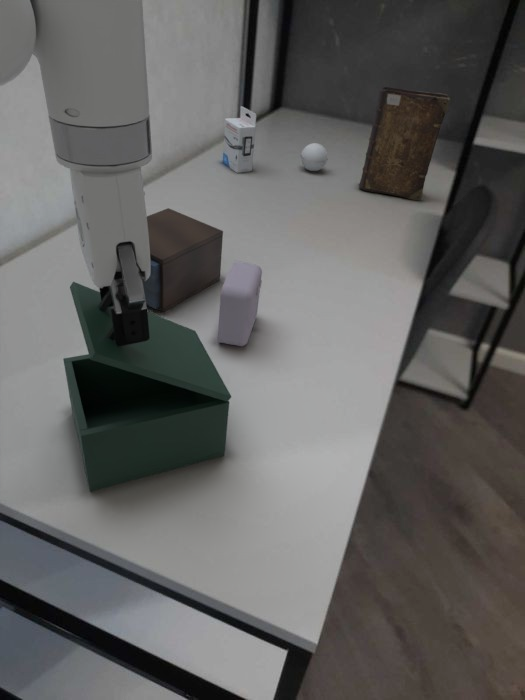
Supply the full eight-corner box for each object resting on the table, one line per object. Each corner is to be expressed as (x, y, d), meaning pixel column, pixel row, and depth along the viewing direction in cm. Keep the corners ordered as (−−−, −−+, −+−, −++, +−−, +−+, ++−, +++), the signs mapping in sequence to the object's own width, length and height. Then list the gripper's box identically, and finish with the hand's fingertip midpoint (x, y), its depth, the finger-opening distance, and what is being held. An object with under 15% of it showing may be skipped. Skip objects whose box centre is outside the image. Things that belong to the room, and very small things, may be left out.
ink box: (221, 162, 144) (224, 105, 135) (237, 161, 146) (241, 105, 138) (236, 173, 139) (241, 114, 130) (252, 171, 141) (258, 114, 132)
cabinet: (163, 312, 84) (163, 259, 78) (109, 283, 89) (105, 232, 83) (220, 279, 94) (223, 231, 88) (168, 255, 99) (168, 208, 93)
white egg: (301, 164, 150) (305, 137, 146) (326, 169, 149) (331, 142, 145) (294, 174, 143) (298, 147, 138) (320, 179, 142) (325, 152, 137)
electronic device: (247, 351, 78) (253, 295, 72) (217, 345, 79) (220, 289, 73) (258, 315, 86) (265, 262, 80) (231, 310, 87) (235, 257, 81)
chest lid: (90, 359, 46) (116, 319, 44) (69, 287, 55) (91, 251, 53) (227, 402, 57) (252, 370, 55) (191, 335, 65) (212, 307, 64)
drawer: (136, 320, 80) (133, 276, 75) (86, 292, 85) (81, 249, 80) (209, 279, 92) (211, 238, 88) (162, 256, 97) (161, 217, 92)
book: (357, 190, 138) (380, 87, 123) (359, 181, 144) (382, 82, 129) (420, 202, 136) (451, 99, 121) (420, 193, 141) (450, 93, 126)
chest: (89, 491, 56) (80, 436, 51) (72, 412, 65) (63, 358, 60) (224, 455, 62) (229, 402, 57) (192, 387, 71) (193, 336, 66)
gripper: (41, 110, 46) (73, 284, 57) (69, 182, 34) (103, 385, 45) (126, 107, 49) (141, 274, 60) (180, 173, 37) (186, 366, 48)
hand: (124, 320), depth 52 cm, fingers closed on chest lid, 6 cm apart
